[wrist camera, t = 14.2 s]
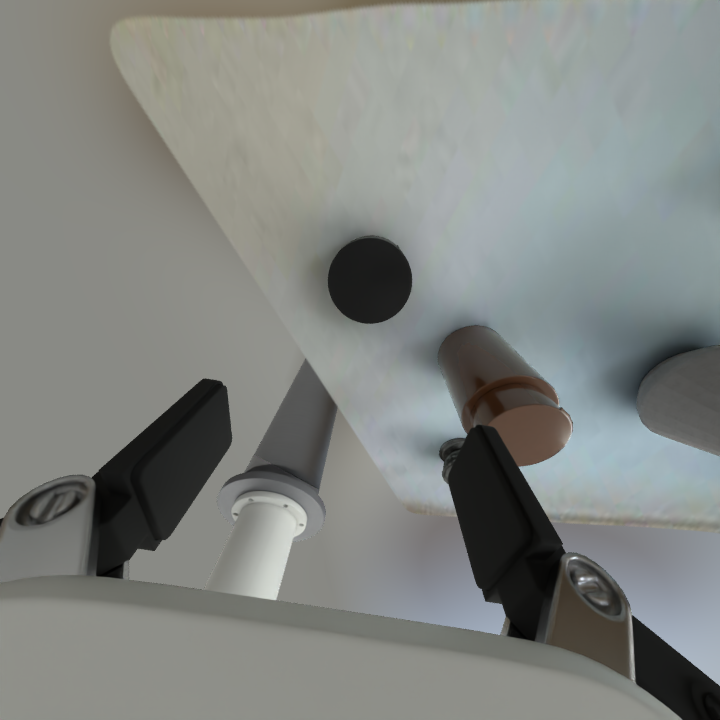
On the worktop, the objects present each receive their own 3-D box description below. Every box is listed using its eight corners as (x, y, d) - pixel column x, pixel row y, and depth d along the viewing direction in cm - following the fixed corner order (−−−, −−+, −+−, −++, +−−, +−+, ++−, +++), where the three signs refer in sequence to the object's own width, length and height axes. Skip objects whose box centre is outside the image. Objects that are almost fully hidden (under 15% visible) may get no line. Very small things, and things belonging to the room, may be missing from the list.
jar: (465, 391, 31) (511, 484, 20) (424, 357, 29) (449, 439, 18) (517, 352, 28) (604, 436, 17) (475, 311, 26) (542, 377, 15)
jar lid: (366, 215, 23) (364, 215, 20) (425, 272, 25) (430, 278, 22) (318, 282, 26) (311, 289, 23) (374, 327, 28) (373, 338, 25)
